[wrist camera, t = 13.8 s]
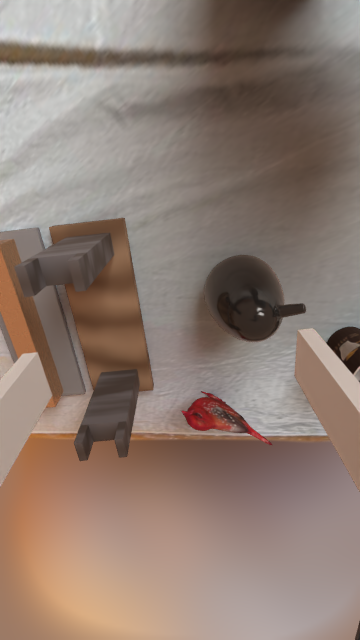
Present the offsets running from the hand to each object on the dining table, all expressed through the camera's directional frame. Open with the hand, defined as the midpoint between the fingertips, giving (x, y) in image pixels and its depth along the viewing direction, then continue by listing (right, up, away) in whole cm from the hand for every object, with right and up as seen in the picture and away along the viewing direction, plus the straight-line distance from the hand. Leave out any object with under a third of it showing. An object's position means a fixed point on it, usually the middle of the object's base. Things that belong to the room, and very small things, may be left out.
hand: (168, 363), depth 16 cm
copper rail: (-22, +2, +33) cm, 40 cm away
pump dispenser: (+9, +8, +31) cm, 33 cm away
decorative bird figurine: (+8, -12, +40) cm, 43 cm away
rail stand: (-10, +3, +33) cm, 35 cm away
